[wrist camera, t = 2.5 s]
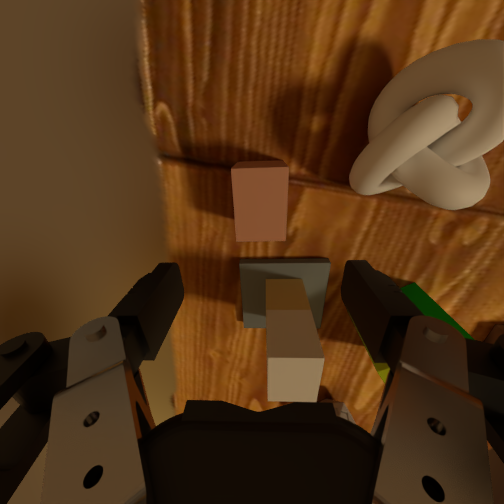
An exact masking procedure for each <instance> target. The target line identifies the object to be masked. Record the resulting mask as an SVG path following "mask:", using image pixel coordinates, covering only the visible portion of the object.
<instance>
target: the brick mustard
mask: <svg viewBox="0 0 504 504" xmlns="http://www.w3.org/2000/svg"><path fill="white" fill-rule="evenodd" d="M266 310H311V308H310V305H309V301H308V298H307V294H306V290H305V287H304V283H303V280H302V279H266ZM266 343H267V317H266Z"/></svg>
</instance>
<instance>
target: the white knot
mask: <svg viewBox="0 0 504 504" xmlns="http://www.w3.org/2000/svg"><path fill="white" fill-rule="evenodd" d="M439 94H440V95H439ZM441 94H457V95H461V96H464V97H466V98H468V99H469V100H470V101H471V102H472V104H473V108H472V110H471V112H470V114H469V115H468V116H467V117H466V119H465V120H464V121H462V122H461V121H460V119H459V118H458V107H459V105H458V104H457V103H456V101H455V100H454V98H453V97H450V96H446V95H441ZM434 95H437V96H434ZM430 96H433V97H430ZM427 97H429V98H427ZM425 98H426V99H425ZM422 99H425V100H423V101H422V102H420V103H418V104H417V105H415V106H413V105H414V104H416V103H417V102H419V101H421V100H422ZM412 106H413V107H412ZM368 139H369V144H368V145H367V146H366V147H365V148H364V150H363V151H362V152H361V153H360V155H359V156H358V157H357V159H356V160H355V162H354V164H353V166H352V169H351V172H350V174H349V181H350V186H351V187H352V189H353V190H355V191H356V192H357V193H359V194H364V195H373V194H377V193H381V192H385V191H388V190H391V189H394V188H397V187H400V186H405V187H406V188H407V189H408V190H410V191H411V192H412V193H414V194H415V195H417V196H418V197H420V198H421V199H422V200H424V201H426V202H427V203H429V204H431V205H434V206H437V207H440V208H444V209H447V210H457V209H462V208H466V207H470V206H472V205H474V204H475V203H477V202H478V201H479V200H481V199H482V198H483V197H484V196H485V194H486V192H487V190H488V188H489V185H490V175H489V172H488V169H487V166H486V164H485V161H484V159H483V157H482V155H483V154H485V153H487V152H488V151H490V150H491V149H493V148H494V147H496V146H497V145H498V144H499V143H501V142H502V141H503V140H504V41H502V40H473V41H468V42H462V43H457V44H454V45H451V46H448V47H445V48H442V49H440V50H437V51H434V52H432V53H430V54H428V55H426V56H424V57H422V58H420V59H418V60H416V61H414V62H413V63H412V64H410V65H409V66H407V67H406V68H404V69H403V70H402V71H400V72H399V73H398V74H397V75H396V76H395V77H394V78H393V79H392V80H390V82H389V83H388V84H387V85H386V86H385V87H384V89H383V90H382V91H381V93H380V94H379V96H378V97H377V99H376V100H375V102H374V105H373V107H372V109H371V112H370V115H369V120H368Z"/></svg>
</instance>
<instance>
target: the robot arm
mask: <svg viewBox="0 0 504 504" xmlns="http://www.w3.org/2000/svg"><path fill="white" fill-rule="evenodd" d="M341 297H342V300H343V302H344V304H345V306H346V308H347V310H348V312H349V314H350V316H351V318H352V320H353V322H354V324H355V326H356V328H357V330H358V332H359V334H360V336H361V338H362V340H363V342H364V344H365V346H366V348H367V350H368V351H369V353H370V355H371V357H372V359H373V361H374V363H387V364H388V366H389V368H390V370H389V372H388V375H387V378H386V382H385V386H384V389H383V393H382V397H381V401H380V404H379V408H378V412H377V415H376V419H375V422H374V425H373V428H372V430H371V433H368V432H367V431H365V430H364V429H363V428H361V427H360V426H358V425H356V424H354V423H353V422H351V421H349V420H346V419H344V418H342V417H339V416H336V413H335V409H334V405H333V403H331V402H294V403H290V404H287V405H283V406H280V407H276V408H273V409H269V410H266V411H262V412H256V411H252V410H249V409H246V408H243V407H240V406H237V405H234V404H231V403H227V402H224V401H209V400H187V402H186V405H185V409H184V413H181V414H179V415H176V416H174V417H171V418H169V419H168V420H166V421H164V422H162V423H160V424H159V425H157V426H156V425H155V423H154V420H153V417H152V414H151V410H150V407H149V402H148V399H147V395H146V391H145V387H144V383H143V379H142V375H141V372H140V369H139V366H140V364H141V362H142V361H143V360H155V358H156V355H157V354H158V351H159V349H160V347H161V345H162V343H163V341H164V339H165V337H166V335H167V333H168V331H169V329H170V327H171V324H172V322H173V320H174V318H175V316H176V314H177V312H178V310H179V308H180V306H181V304H182V301H183V298H184V287H183V283H182V279H181V274H180V270H179V266H178V264H177V263H159V264H158V265H157V267H156V268H155V269H154V270H153V271H152V273H148V274H147V275H145V276H144V277H142V278H141V279H139V280H138V281H137V283H136V284H135V285H134V286H133V288H131V289H130V291H129V292H128V294H127V295H125V296H124V298H123V299H122V300H121V301H120V302H119V303H118V304H117V306H116V307H115V308H114V309H113V310H112V312H111V313H110V314H109V315H108V316H107V317H101V318H97V319H94V320H92V321H90V322H88V323H86V324H84V325H83V326H81V327H80V328H79V329H78V330H76V331H75V333H74V334H73V335H72V336H71V337H69V338H65V339H60V340H56V341H52V342H48V341H47V339H46V338H45V336H44V335H43V334H42V333H40V332H30V333H26V334H23V335H20V336H17V337H15V338H13V339H11V340H8V341H6V342H5V343H3V344H1V345H0V409H1V408H2V407H3V406H4V405H5V404H6V403H7V402H8V400H9V399H10V398H11V397H13V398H14V399H15V400H16V401H17V402H18V403H19V404H20V406H19V407H18V408H17V410H16V411H15V412H14V413H13V414H12V415H11V416H10V418H9V419H8V420H7V421H6V422H5V423H4V425H3V426H2V427H1V428H0V504H7V502H8V501H9V500H10V498H11V497H12V495H13V493H14V492H15V490H16V489H17V487H18V486H19V484H20V483H21V481H22V480H23V478H24V477H25V475H26V474H27V472H28V471H29V469H30V467H31V466H32V465H33V463H34V462H35V460H36V458H37V457H38V455H39V454H40V452H41V451H42V449H43V448H44V446H45V445H46V443H47V442H48V445H47V454H46V463H45V470H44V478H43V487H42V495H41V504H494V502H493V494H492V485H491V475H490V465H489V456H488V446H487V440H488V442H489V443H490V445H491V446H492V448H493V449H494V450H495V452H496V453H497V455H498V456H499V458H500V459H501V460H502V462H503V463H504V334H502V335H500V336H499V337H498V339H497V340H496V341H495V343H494V344H490V343H486V342H481V341H477V340H472V339H468V338H464V337H463V335H462V334H461V333H460V332H459V331H458V330H457V329H456V328H454V327H453V326H451V325H450V324H448V323H446V322H444V321H442V320H440V319H437V318H434V317H430V316H425V315H424V314H423V313H422V312H421V311H420V310H419V309H418V308H417V306H416V305H415V304H414V303H413V302H412V301H411V300H410V299H409V298H408V297H407V296H406V295H405V294H404V293H402V290H401V289H400V288H399V287H398V286H396V284H395V283H394V282H393V281H392V280H391V279H390V277H388V276H387V275H385V274H383V273H382V272H380V271H378V270H374V269H373V268H372V266H371V265H370V264H369V263H368V262H367V261H366V260H348V261H347V262H346V264H345V269H344V275H343V280H342V285H341Z"/></svg>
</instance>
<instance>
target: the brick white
mask: <svg viewBox="0 0 504 504" xmlns="http://www.w3.org/2000/svg"><path fill="white" fill-rule="evenodd" d="M266 317H267V387H268V401H287V402H316V401H317V396H318V391H319V386H320V380H321V375H322V370H323V365H324V360H325V357H324V354H323V350H322V347H321V343H320V340H319V336H318V333H317V329H316V326H315V322H314V319H313V315H312V312H311V310H266Z"/></svg>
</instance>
